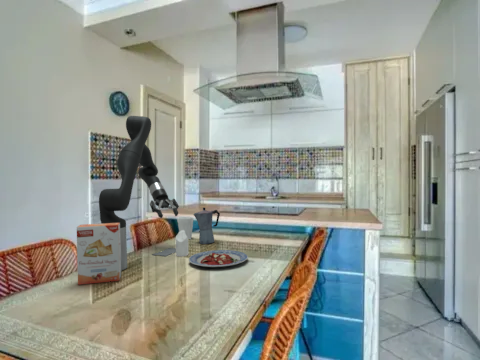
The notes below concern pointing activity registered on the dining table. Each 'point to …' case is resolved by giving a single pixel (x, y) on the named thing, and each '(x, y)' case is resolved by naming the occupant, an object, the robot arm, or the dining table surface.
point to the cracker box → (98, 253)
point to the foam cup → (186, 225)
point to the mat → (166, 252)
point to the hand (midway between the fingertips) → (169, 216)
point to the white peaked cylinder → (181, 244)
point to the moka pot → (206, 225)
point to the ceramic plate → (218, 258)
